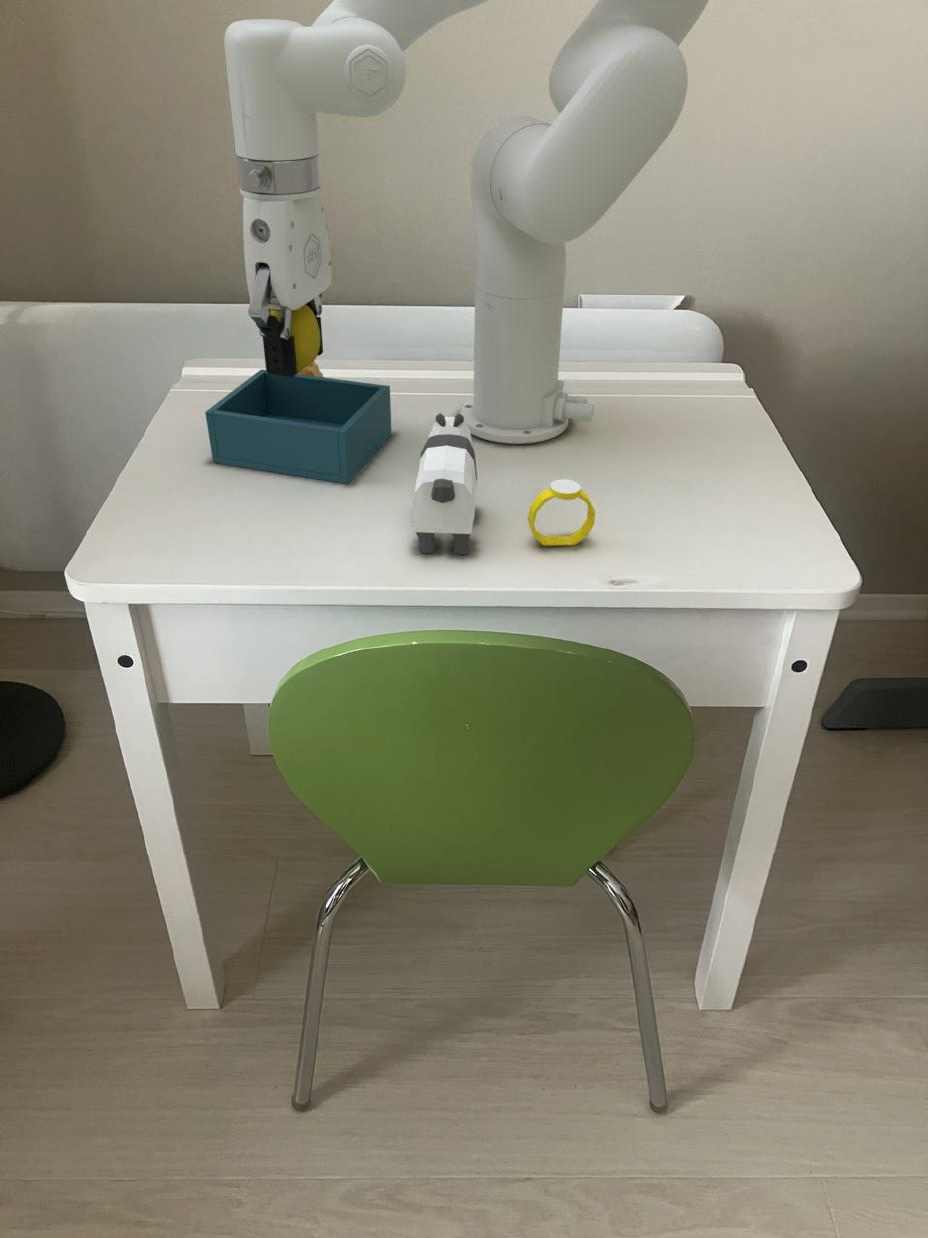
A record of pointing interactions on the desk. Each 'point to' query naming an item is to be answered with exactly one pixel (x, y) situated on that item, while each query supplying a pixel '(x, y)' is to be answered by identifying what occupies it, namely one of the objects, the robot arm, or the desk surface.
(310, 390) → the teal open bin
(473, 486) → the giant panda
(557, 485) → the watch
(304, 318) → the lemon
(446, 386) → the desk surface
